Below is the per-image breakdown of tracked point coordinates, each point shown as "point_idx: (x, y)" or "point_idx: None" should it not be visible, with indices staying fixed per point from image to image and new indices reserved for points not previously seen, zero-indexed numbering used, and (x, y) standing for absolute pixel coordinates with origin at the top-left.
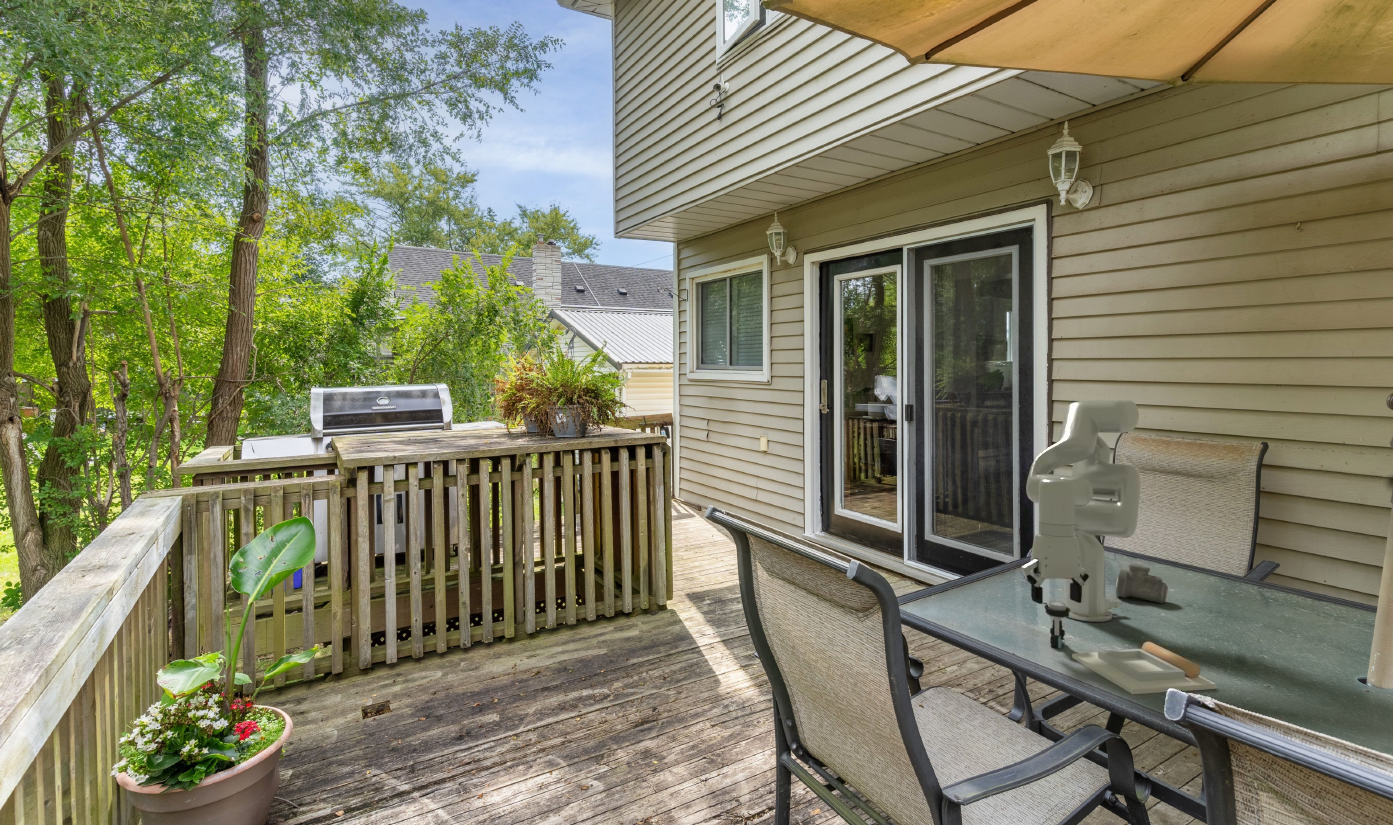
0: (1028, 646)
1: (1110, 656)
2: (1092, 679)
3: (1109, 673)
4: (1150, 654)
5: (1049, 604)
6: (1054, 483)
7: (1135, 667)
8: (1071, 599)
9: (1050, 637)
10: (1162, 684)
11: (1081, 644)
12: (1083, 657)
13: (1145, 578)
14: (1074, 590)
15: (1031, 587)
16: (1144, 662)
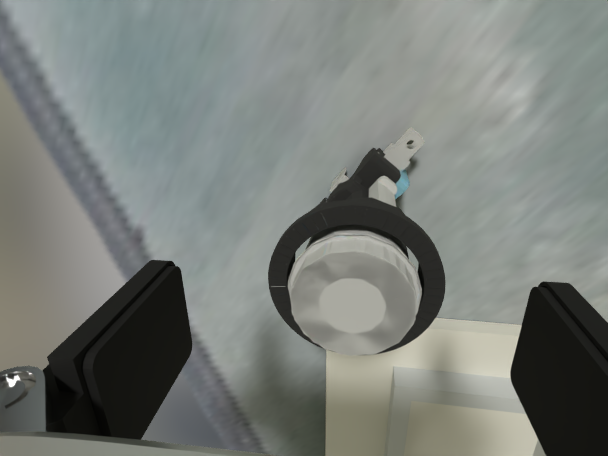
0: (227, 183)
1: (401, 424)
2: (285, 425)
3: (336, 446)
4: None
5: (291, 289)
6: None
7: (453, 441)
8: (527, 303)
9: (332, 189)
10: None
11: (476, 204)
12: None
13: None
14: (569, 419)
15: (50, 368)
16: (524, 426)
